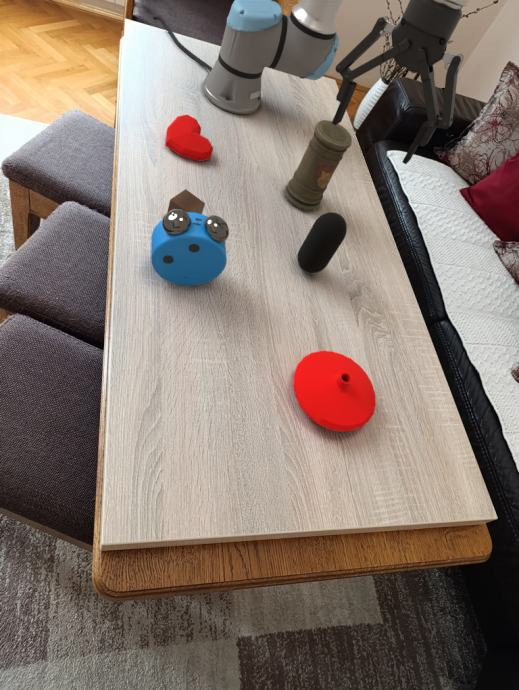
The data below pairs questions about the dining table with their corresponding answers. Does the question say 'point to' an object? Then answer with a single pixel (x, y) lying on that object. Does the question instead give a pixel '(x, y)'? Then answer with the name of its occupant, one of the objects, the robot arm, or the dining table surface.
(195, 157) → the heart
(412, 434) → the dining table surface
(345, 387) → the flat cone with hole
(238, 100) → the robot arm
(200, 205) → the walnut block
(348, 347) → the dining table surface
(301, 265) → the decorative object
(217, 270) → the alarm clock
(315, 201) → the container
